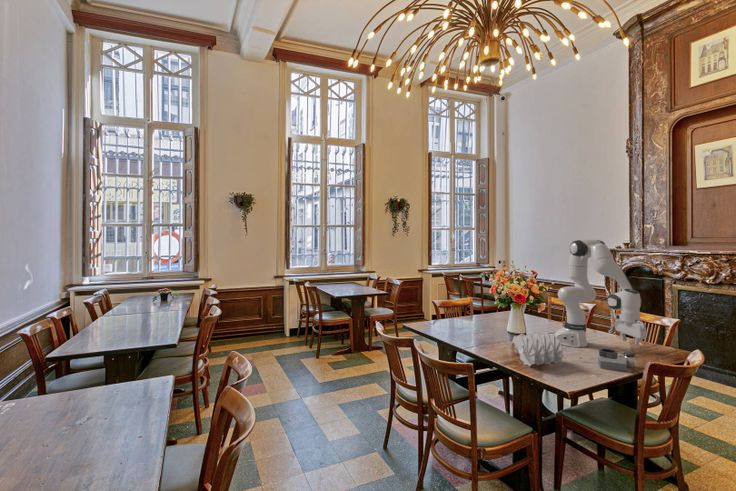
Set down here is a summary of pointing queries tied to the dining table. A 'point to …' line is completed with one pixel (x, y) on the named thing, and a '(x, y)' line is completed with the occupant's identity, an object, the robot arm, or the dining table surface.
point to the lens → (629, 359)
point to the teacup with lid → (516, 346)
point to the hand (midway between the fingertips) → (630, 343)
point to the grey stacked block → (611, 360)
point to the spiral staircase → (539, 348)
